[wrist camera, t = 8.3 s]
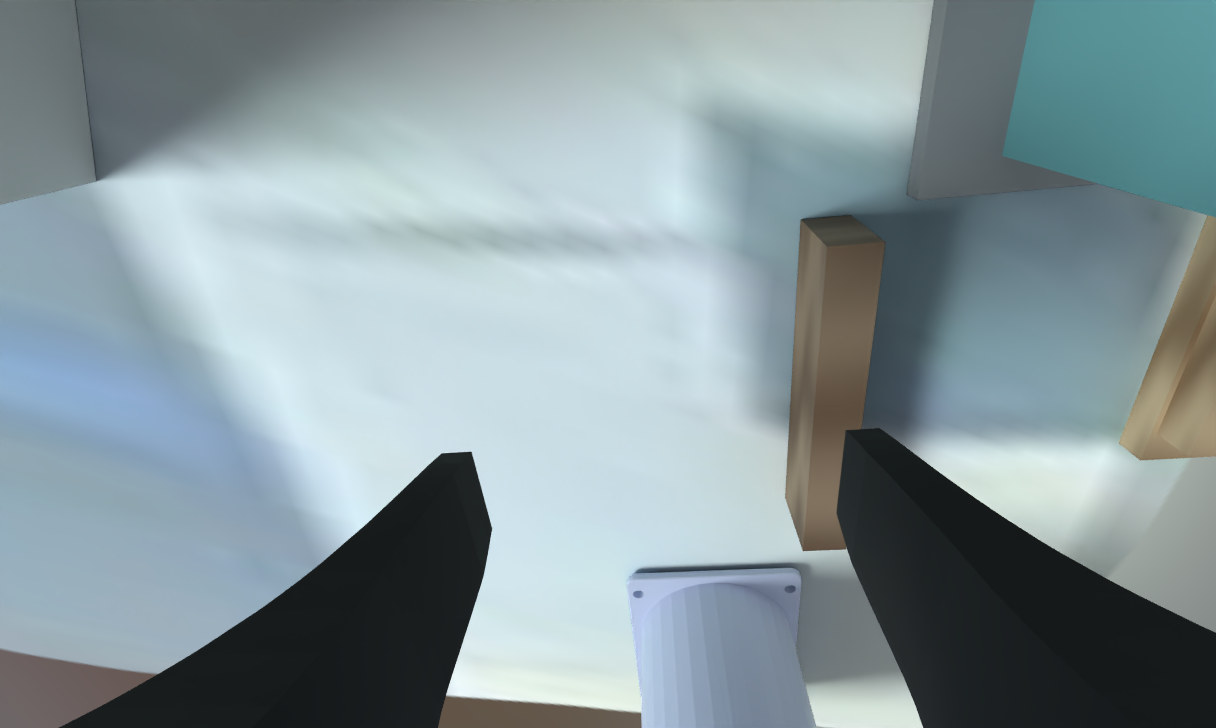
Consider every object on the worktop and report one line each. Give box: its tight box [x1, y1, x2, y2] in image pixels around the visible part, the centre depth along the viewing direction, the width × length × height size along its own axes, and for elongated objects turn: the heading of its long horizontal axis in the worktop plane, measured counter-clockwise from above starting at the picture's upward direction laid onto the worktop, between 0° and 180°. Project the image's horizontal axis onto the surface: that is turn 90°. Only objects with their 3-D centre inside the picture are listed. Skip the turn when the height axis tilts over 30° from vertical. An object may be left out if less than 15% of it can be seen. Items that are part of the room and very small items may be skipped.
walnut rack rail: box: [785, 215, 885, 551], centre depth 20 cm, size 12×2×3 cm, turn 6°
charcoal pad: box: [907, 0, 1098, 200], centre depth 16 cm, size 9×7×1 cm
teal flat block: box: [1002, 0, 1216, 217], centre depth 12 cm, size 7×2×8 cm, turn 6°
